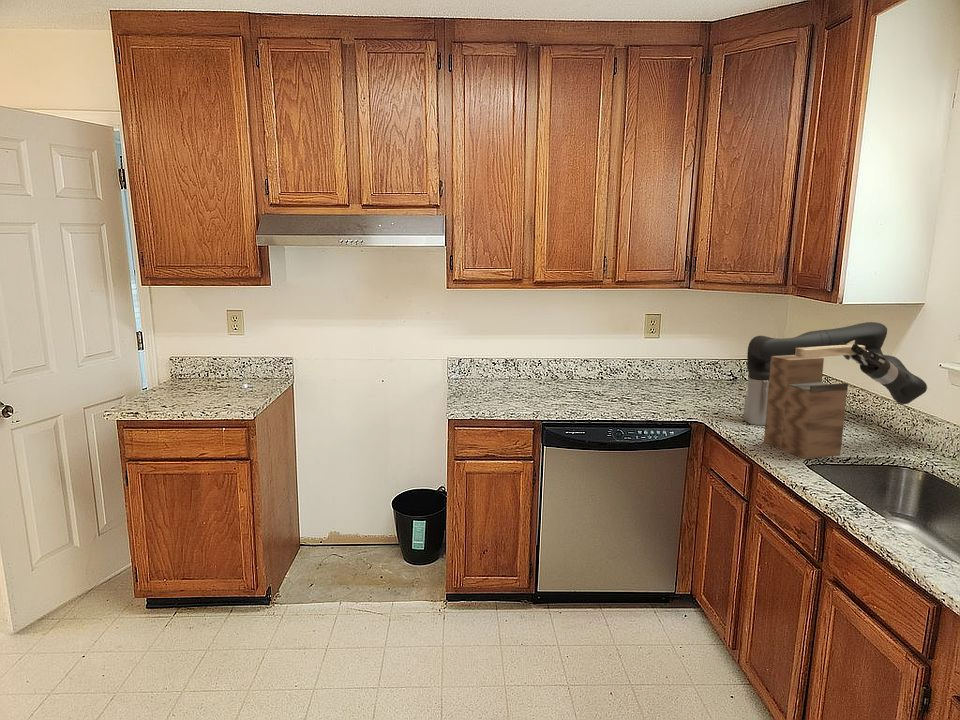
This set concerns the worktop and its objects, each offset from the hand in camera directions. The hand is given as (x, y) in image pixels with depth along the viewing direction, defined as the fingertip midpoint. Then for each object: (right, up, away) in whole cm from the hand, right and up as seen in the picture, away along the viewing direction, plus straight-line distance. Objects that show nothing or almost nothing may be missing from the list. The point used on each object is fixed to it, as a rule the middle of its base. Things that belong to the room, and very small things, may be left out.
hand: (847, 345), depth 199 cm
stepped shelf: (-11, -34, +7) cm, 37 cm away
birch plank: (-6, -3, -1) cm, 7 cm away
